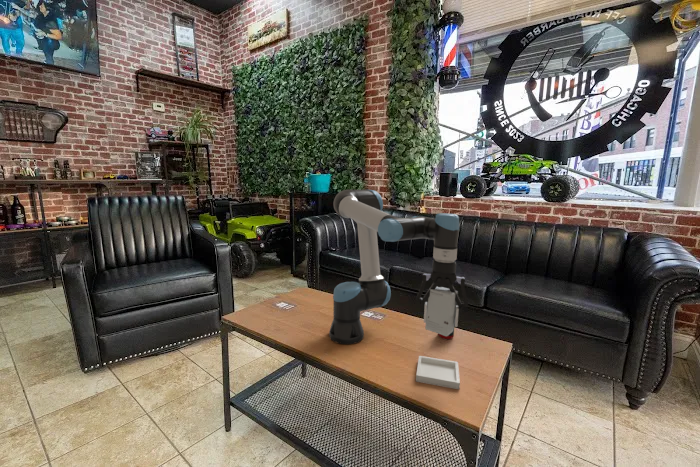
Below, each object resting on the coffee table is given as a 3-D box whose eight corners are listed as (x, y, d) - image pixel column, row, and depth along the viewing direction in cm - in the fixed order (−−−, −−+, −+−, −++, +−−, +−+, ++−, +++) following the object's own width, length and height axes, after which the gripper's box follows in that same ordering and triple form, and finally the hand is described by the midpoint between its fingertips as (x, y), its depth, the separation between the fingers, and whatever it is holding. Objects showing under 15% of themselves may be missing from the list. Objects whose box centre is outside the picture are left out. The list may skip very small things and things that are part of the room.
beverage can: (454, 341, 133) (456, 314, 131) (438, 339, 134) (439, 313, 133) (452, 334, 140) (454, 308, 138) (437, 332, 141) (438, 307, 139)
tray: (415, 381, 105) (416, 375, 105) (418, 361, 118) (419, 355, 117) (459, 389, 101) (459, 383, 101) (457, 367, 114) (457, 361, 113)
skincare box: (424, 329, 107) (427, 288, 105) (432, 324, 112) (434, 284, 110) (448, 337, 102) (451, 294, 100) (455, 331, 107) (458, 289, 104)
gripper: (409, 259, 103) (406, 323, 106) (481, 265, 97) (475, 332, 100) (411, 254, 110) (408, 314, 113) (479, 260, 104) (473, 323, 107)
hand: (440, 323), depth 107 cm, fingers closed on skincare box, 10 cm apart
